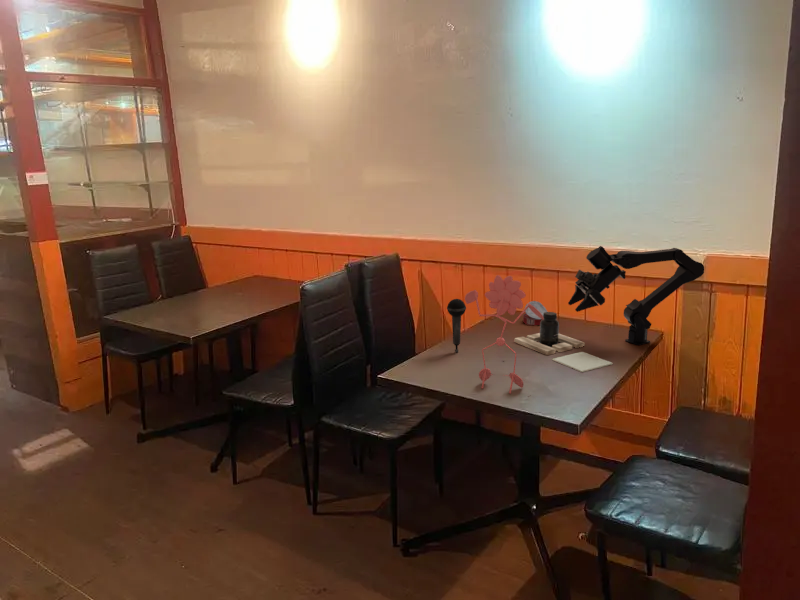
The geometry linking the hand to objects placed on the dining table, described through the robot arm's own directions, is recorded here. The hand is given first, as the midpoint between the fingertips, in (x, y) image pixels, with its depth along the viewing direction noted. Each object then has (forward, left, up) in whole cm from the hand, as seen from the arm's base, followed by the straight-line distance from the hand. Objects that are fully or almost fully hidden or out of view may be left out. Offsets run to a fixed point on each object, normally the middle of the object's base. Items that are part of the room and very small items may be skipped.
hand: (572, 307), depth 229 cm
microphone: (+41, -15, -14) cm, 46 cm away
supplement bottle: (+7, -4, -14) cm, 16 cm away
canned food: (-8, -29, -15) cm, 34 cm away
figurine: (+45, +18, -14) cm, 51 cm away
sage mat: (+11, +17, -14) cm, 24 cm away
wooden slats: (+7, -4, -14) cm, 16 cm away
